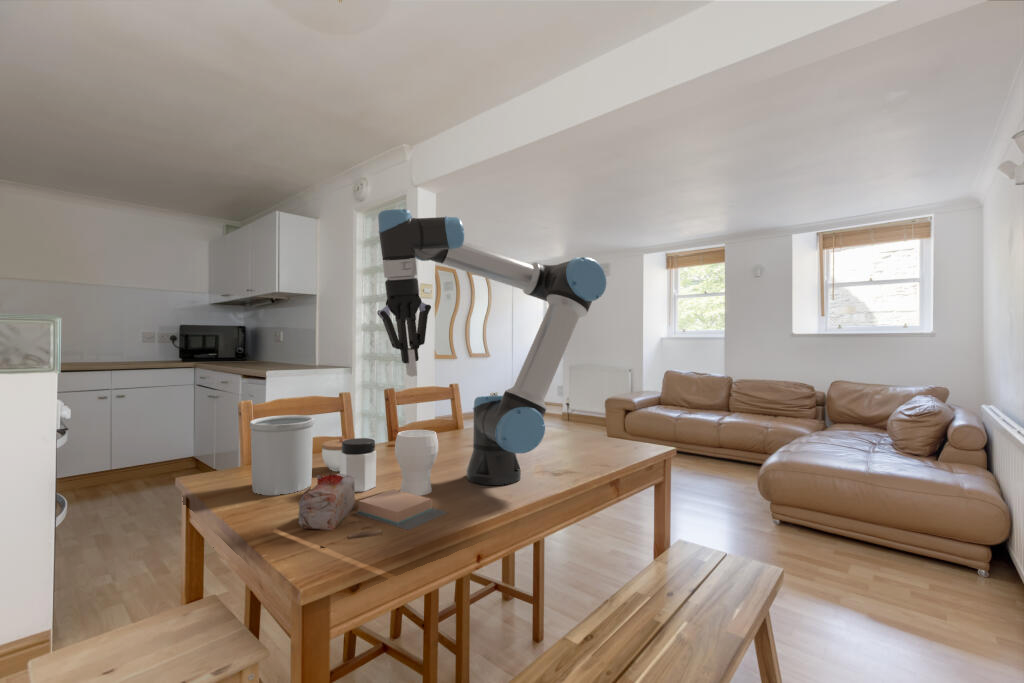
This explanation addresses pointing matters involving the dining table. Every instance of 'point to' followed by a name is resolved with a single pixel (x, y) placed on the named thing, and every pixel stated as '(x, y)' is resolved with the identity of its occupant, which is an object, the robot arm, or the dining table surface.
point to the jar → (359, 462)
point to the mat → (413, 521)
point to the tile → (394, 506)
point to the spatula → (363, 534)
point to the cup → (416, 459)
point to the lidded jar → (332, 453)
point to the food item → (327, 502)
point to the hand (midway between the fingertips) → (411, 374)
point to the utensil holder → (281, 454)
